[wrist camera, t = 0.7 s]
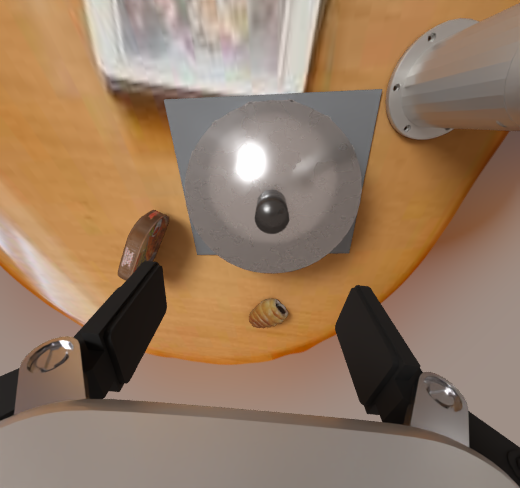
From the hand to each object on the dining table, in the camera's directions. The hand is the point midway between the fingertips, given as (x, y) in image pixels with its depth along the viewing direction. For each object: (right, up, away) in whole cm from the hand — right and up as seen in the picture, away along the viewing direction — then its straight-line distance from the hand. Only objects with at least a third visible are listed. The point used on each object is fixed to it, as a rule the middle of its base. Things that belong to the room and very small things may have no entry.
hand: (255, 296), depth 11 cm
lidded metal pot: (+2, +12, +25) cm, 28 cm away
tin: (-21, +4, +31) cm, 38 cm away
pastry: (+2, -13, +40) cm, 43 cm away
